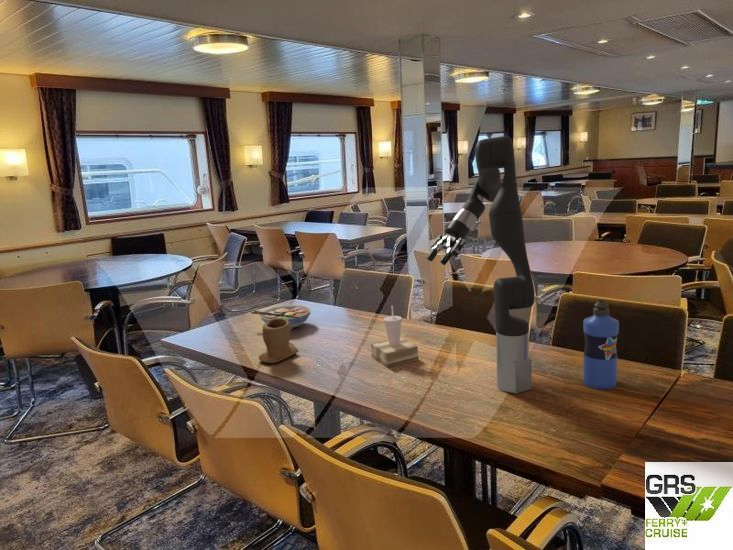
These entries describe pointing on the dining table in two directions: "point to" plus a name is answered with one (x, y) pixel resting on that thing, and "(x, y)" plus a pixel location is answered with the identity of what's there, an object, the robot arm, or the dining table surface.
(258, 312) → the ramen bowl
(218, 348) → the dining table surface
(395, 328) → the smoothie
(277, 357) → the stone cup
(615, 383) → the water bottle
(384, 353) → the low rectangular block
